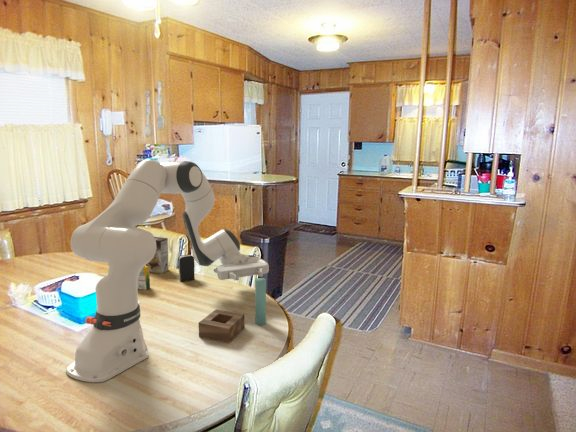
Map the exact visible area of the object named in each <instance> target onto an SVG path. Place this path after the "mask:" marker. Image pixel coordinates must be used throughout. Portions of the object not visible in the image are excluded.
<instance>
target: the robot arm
mask: <svg viewBox="0 0 576 432" xmlns="http://www.w3.org/2000/svg"><path fill="white" fill-rule="evenodd" d="M161 194H169V195H177V194H178V195H179V194H181V196H182V199H183V200H184V203H185V208H184V211H183V213H182V219H183V224H184V226H185V227H184V228H185V230H186V234H187V236H188V240H189V243H190V247H191V250H192V256H193V257H194V261H195V263H197V264H198V265H199V266H203V267H210V266H211V265H212V264H213V263H215V262H216V261H217V260H219V261H220V263H221V265H218V266H217V267H216V268H214V269H213V271H214V273H216V276H217V279H218V280H220V281H224V280H226V281H227V280H234V281H240V278H245V277H252V276H257V277H258V278H263V277H264V275H265V274H268V273H269V270H270V269H269V268H270V265H269V263H268V262H267V261H266V260H264V259H262V258H259V257H260V256H258V254H257V255H256V254H254V255H253V254H252V255H251V254H250V255H248V254H243V253H241V252H240V251H241V244H240V241H239V239H238V238H237V237H236V235H235V234H234V233H233V232H232V231H231V230H229V229H226V228H222V229H220V230H219V231H217V232H215V233H213V234H211V236H208V237H207V238H205V239H203V240H202V239H201V235H200V232H199V226H200V225H201V223H202V222H203V220H204V219H205V218H206V216H207V215H208V214H209V213H211V211H212V210H213V208H214V205H215V202H216V196H215V193H214V190H213V188H212V186H211V184H210V182H209V180H208V179H207V177H206V176H205V174H204V172H203V171H202V170H201V168H200V167H199V165H198V164H197V163H195V162H193V161H187V160H184V161H183V160H182V161H162V162H159V161H157V160H154V159H150V158H149V159H147V158H146V159H144V160H141V161H140V162H139V163H138V164H137V165H136V166H135V167H134V169H132V171H131V172H130V174H129V175H128V176H127V178H126V180H125V181H124V183H123V185H122V187H121V188H120V190H119V191H118V193H117V195H116V196H115V198H114V199H113V201H112V202H111V203H110V204H109V205H108V206H107V208H106V209H104V210H103V211H102V212H101V213H100V214H98V215H97V216H96V217H95V218H93V219H92V220H90V221H88V222H86V223H84V224H81V225H79V226H77V228H75V229H74V230H73V232H72V234H71V237H70V243H69V244H70V248H71V251H72V253H73V254H74V255H75V256H77V257H78V258H82V259H84V260H87V261H89V262H96V263H102V264H103V263H104V264H107V265H108V272H107V273H108V274H107V275H105V276H103V277H102V278H100V279H99V281H98V282H97V283H96V286H95V295H96V296H95V297H96V311H95V313H94V316H87V317H86V318H85V322H84V323H85V324H87V325H88V324H90V325H93V326H92V327H91V328H90V330H89V331H88V332H87V334H86V336H85V337H84V338H83V339H82V340H81V342H80V343H79V344H78V346H77V347H76V348H75V355H74V361H72V362H71V363H70V364H69V365H68V366H66V369H65V373H66V374H67V376H69V377H71V378H73V379H75V380H77V381H83V382H86V383H103V382H106V381H108V380H111V378H114V377H115V376H117V375H119V374H120V373H123V372H124V371H126V370H128V369H129V368H132V367H133V366H135V365H137V364H139V363H141V362H142V361H144V360H145V359H148V357H149V353H148V351H147V344H146V341H145V337H144V333H143V329H142V325H141V320H140V318H141V307H140V304H139V298H138V297H139V296H138V293H139V292H138V289H137V283H138V277H139V274H140V272H141V270H142V268H143V267H144V266H146V264H147V263H149V262H150V261H151V260H152V258H153V257H154V255H155V252H156V240H155V238H154V237H155V236H154V234H153V233H152V232H151V231H148V230H146V229H143V228H140V227H136V226H138V225H141V224H143V223H145V222H147V220H149V218H150V217H151V215H152V213H153V211H154V210H155V207H156V205H157V203H158V201H159V200H160V197H161Z"/></svg>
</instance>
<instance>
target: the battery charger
mask: <svg viewBox="0 0 576 432" xmlns="http://www.w3.org/2000/svg"><path fill="white" fill-rule="evenodd" d="M177 267H178V273H179V275H178V277H179V281H180V282H185V281H191V280H195V279H196V278H195V259H194V256H193V254H185V255H184V254H183V255H180V256H178V258H177Z"/></svg>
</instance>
